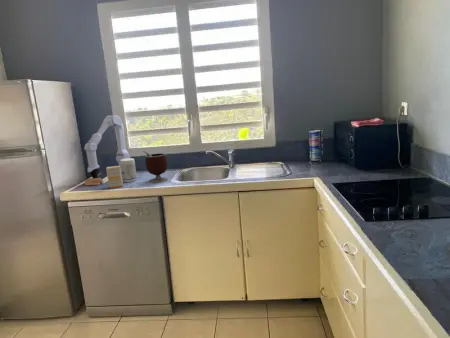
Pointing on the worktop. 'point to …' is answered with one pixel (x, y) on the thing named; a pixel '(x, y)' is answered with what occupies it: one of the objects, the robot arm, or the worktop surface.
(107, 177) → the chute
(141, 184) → the worktop surface
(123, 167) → the supplement tub
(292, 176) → the worktop surface
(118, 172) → the supplement box
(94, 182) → the block
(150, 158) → the mate gourd
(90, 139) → the robot arm
